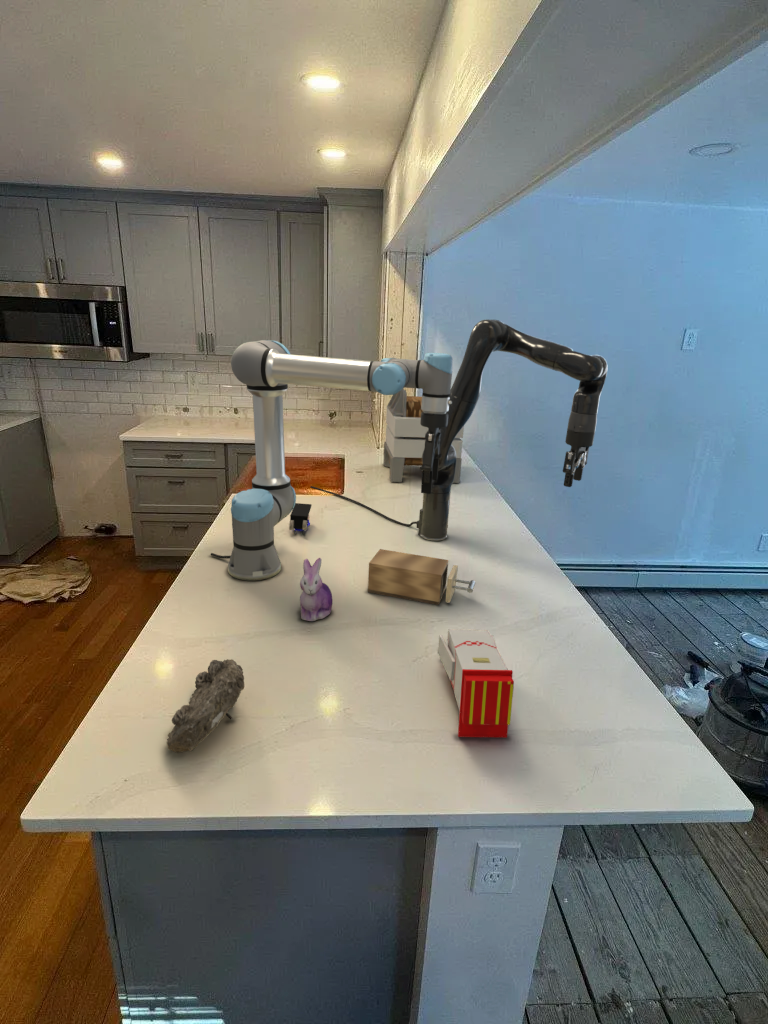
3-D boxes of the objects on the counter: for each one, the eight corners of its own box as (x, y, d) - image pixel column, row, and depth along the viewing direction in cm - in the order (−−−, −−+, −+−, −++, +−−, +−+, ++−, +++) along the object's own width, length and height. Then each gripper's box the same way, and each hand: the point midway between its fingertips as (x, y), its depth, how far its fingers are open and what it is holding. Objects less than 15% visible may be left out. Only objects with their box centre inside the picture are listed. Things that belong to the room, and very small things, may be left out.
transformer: (382, 463, 289) (386, 382, 275) (445, 464, 293) (451, 384, 279) (390, 482, 257) (394, 392, 243) (460, 483, 261) (468, 394, 247)
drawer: (475, 591, 159) (477, 568, 157) (470, 606, 151) (472, 582, 149) (391, 577, 165) (392, 554, 163) (382, 590, 157) (383, 567, 155)
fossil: (192, 660, 117) (244, 628, 112) (224, 691, 120) (276, 661, 115) (142, 746, 98) (202, 712, 93) (182, 779, 101) (242, 748, 96)
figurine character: (308, 540, 194) (312, 520, 207) (307, 521, 190) (312, 501, 204) (288, 540, 194) (294, 519, 207) (287, 520, 190) (293, 501, 204)
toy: (488, 613, 130) (523, 677, 101) (484, 667, 133) (517, 744, 104) (435, 612, 130) (455, 676, 101) (432, 666, 133) (451, 743, 103)
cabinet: (446, 588, 162) (448, 559, 159) (438, 605, 153) (441, 575, 150) (378, 576, 167) (380, 548, 164) (367, 592, 158) (368, 562, 155)
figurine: (305, 626, 140) (305, 571, 134) (291, 607, 148) (291, 554, 143) (340, 618, 144) (341, 564, 139) (325, 600, 152) (325, 549, 147)
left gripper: (443, 421, 143) (437, 500, 150) (452, 406, 166) (446, 475, 173) (414, 418, 144) (409, 497, 151) (427, 404, 167) (422, 473, 174)
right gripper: (576, 423, 167) (567, 475, 173) (559, 429, 156) (551, 485, 162) (602, 426, 163) (592, 480, 169) (587, 434, 152) (577, 491, 158)
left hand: (429, 486), depth 162 cm, fingers open, 13 cm apart
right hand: (572, 483), depth 165 cm, fingers open, 8 cm apart
